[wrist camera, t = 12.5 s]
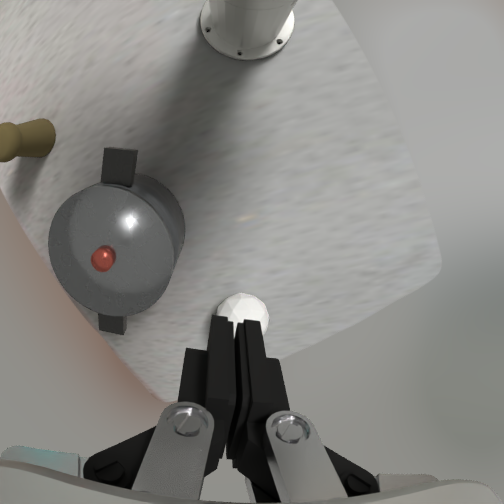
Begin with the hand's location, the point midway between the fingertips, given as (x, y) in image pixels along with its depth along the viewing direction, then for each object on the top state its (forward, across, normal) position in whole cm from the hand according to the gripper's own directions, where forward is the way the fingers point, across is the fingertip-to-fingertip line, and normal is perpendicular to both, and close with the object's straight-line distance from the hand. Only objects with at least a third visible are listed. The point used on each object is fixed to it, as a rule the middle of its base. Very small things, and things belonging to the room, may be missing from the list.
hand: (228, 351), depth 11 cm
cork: (+35, +30, -4) cm, 46 cm away
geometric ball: (+35, -5, +18) cm, 40 cm away
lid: (+25, +13, +8) cm, 29 cm away
